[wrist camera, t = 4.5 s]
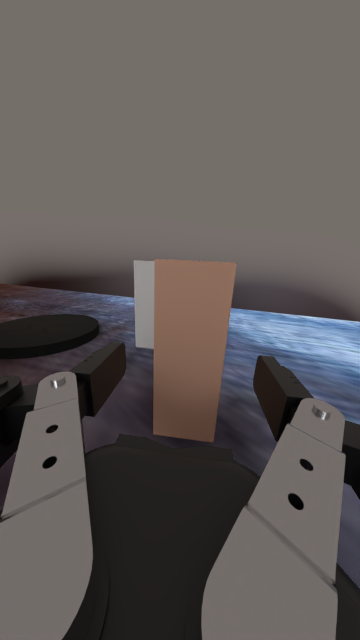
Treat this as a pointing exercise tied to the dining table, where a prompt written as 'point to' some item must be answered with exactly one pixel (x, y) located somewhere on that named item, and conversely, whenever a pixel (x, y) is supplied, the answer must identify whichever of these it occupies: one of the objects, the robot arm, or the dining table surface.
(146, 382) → the dining table surface
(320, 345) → the dining table surface
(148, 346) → the light grey block
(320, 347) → the dining table surface
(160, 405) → the terracotta block
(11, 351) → the wireless charger
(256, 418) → the dining table surface
